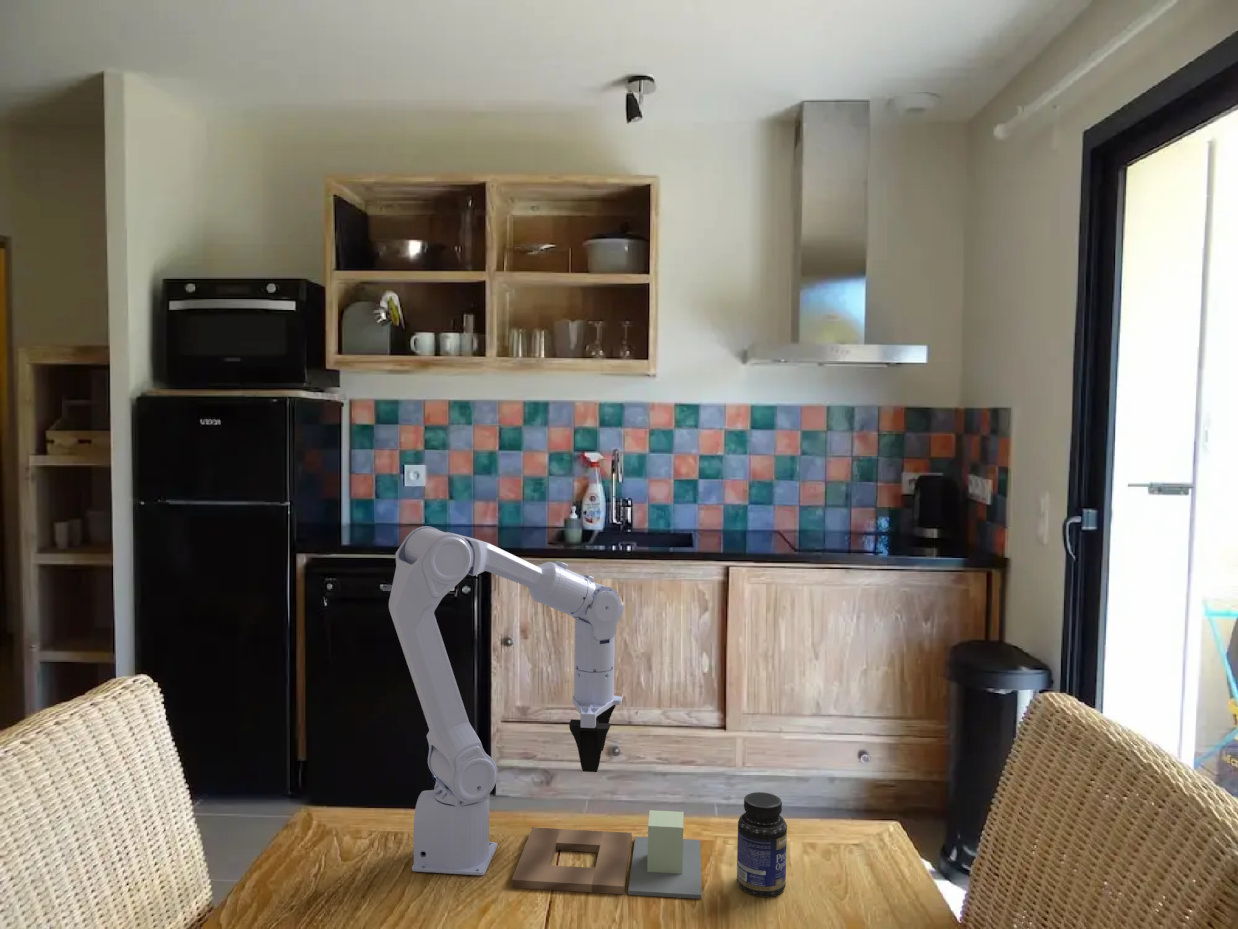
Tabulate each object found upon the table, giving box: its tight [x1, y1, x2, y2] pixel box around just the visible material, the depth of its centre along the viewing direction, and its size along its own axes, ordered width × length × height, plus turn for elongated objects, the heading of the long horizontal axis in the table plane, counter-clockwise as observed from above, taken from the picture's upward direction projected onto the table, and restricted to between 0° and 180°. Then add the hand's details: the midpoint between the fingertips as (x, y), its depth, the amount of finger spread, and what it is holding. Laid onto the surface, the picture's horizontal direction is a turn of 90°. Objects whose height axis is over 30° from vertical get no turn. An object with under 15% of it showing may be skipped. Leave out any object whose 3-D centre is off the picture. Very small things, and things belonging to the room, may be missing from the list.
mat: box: [627, 836, 703, 900], centre depth 113 cm, size 9×14×1 cm, turn 175°
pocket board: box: [511, 827, 633, 895], centre depth 114 cm, size 14×14×1 cm
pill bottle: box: [736, 791, 788, 898], centre depth 109 cm, size 6×6×11 cm
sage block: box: [647, 809, 685, 874], centre depth 113 cm, size 4×4×6 cm
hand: (593, 760), depth 124 cm, fingers open, 7 cm apart
